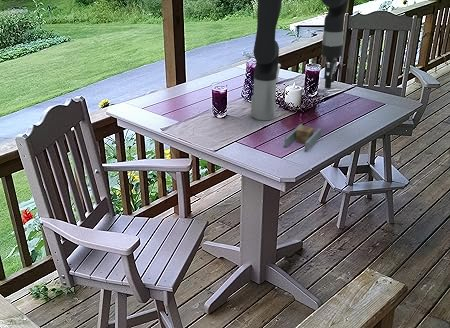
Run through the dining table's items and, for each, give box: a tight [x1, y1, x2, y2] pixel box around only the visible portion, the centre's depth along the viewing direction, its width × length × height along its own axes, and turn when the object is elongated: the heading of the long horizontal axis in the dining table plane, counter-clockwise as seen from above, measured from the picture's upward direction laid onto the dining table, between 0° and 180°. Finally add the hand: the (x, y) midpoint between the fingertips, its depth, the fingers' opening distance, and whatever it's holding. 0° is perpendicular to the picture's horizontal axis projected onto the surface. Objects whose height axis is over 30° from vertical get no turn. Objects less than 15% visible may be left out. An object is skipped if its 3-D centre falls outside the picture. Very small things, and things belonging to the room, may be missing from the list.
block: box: [295, 125, 314, 145], centre depth 197 cm, size 5×5×5 cm
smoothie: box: [276, 62, 282, 84], centre depth 259 cm, size 6×6×14 cm
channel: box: [283, 123, 323, 153], centre depth 197 cm, size 9×16×4 cm, turn 152°
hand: (329, 85), depth 199 cm, fingers open, 8 cm apart
